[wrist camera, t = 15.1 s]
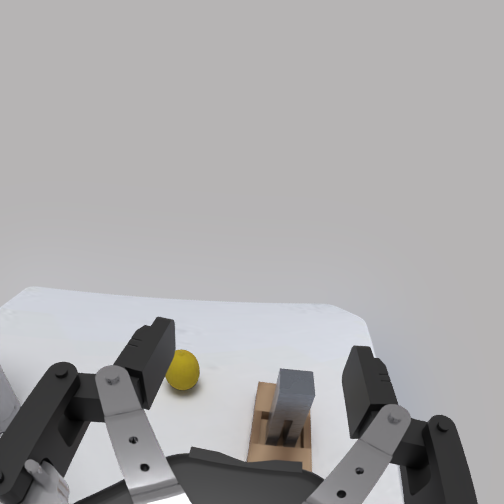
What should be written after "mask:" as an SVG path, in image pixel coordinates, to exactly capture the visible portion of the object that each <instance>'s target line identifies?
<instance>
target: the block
mask: <svg viewBox="0 0 504 504" xmlns="http://www.w3.org/2000/svg"><path fill="white" fill-rule="evenodd" d="M314 397H315V388H314V378H313V372H311V371H300V370H289V369H280V371H279V375H278V380H277V384H276V388H275V392H274V396H273V400H272V405H271V409H270V413H269V417H268V421H267V424H266V435H265V445H271V446H276V445H277V442H278V439H279V436H280V433H281V430H282V427H283V424H284V421H285V420H286V421H285V424H284V427H283V447H293V448H294V447H295V445H296V443H297V440H298V438H299V436H300V433H301V431H302V428H303V426H304V423H305V421H306V418H307V416H308V413H309V410H310V408H311V405H312V403H313V400H314Z"/></svg>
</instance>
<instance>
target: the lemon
mask: <svg viewBox="0 0 504 504" xmlns="http://www.w3.org/2000/svg"><path fill="white" fill-rule="evenodd" d="M199 374H200V371H199V364H198V361H197V359H196V357H195V356H194V355H193V354H192V353H190V352H189V351H186V350H176V351H175V354H174V358H173V360H172V362H171V364H170V367H169V369H168V371H167V373H166V375H165V377H166V379H167V381H168V383H169V384H170V385H171V386H172V387H174V388H176V389H179V390H187V389H190V388H192V387H193V386H194V385H195V384H196V383H197V381H198V378H199Z"/></svg>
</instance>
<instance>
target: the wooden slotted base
mask: <svg viewBox="0 0 504 504" xmlns="http://www.w3.org/2000/svg"><path fill="white" fill-rule="evenodd" d="M275 388H276V384H273V383H265V382H259V383H258V388H257V394H256V400H255V408H254V415H253V422H252V429H251V436H250V443H249V450H248V457H247V462H258V461H268V460H284V461H299V462H302V469H304V470H307V471H310V472H312V460H311V421H310V410H309V413H308V416H307V418H306V421H305V423H304V426H303V428H302V431H301V433H300V436H299V438H298V440H297V443H296V445H295V447H294V448H293V447H283V427H284V424H285V421H286V420H285V421H284V424H283V427H282V430H281V433H280V436H279V439H278V442H277V445H276V446H271V445H265V435H266V424H267V421H268V417H269V413H270V409H271V405H272V400H273V396H274V392H275Z"/></svg>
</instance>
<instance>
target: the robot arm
mask: <svg viewBox="0 0 504 504" xmlns="http://www.w3.org/2000/svg"><path fill="white" fill-rule="evenodd" d="M174 354H175V323H174V320H172V319H167V318H162V317H157V318H156V319H155V321H154V322H153V324H152V325H151V326H147V325H144V326H143V327H141V328H140V329H138V330H137V331H136V332H135V333H134V335H133V336H132V338H131V339H130V341H129V342H128V344H127V345H126V346H125V348H124V349H123V351H122V352H121V354H120V355H119V357H118V358H117V360H116V361H115V363H114V364H113V365H110V366H106V367H103V368H101V369H100V370H99V371H98V372H97V374H87V373H78V372H77V369H76V367H75V366H74V365H73V364H71V363H68V362H59V363H56V364H54V365H52V366H51V367H50V368H49V369H48V370H47V371H46V373H45V374H44V376H43V377H42V378H41V380H40V381H39V382H38V384H37V385H36V387H35V388H34V389H33V391H32V392H31V394H30V395H29V396H28V398H27V399H26V401H25V402H24V404H23V405H22V406H21V408H20V404H19V401H18V399H17V398H16V396H15V394H14V392H13V390H12V388H11V386H10V384H9V382H8V380H7V378H6V376H5V374H4V372H3V370H2V367H1V365H0V433H2V432H4V434H3V435H2V437H1V438H0V502H1V503H3V504H68V497H69V486H68V484H67V482H66V481H65V480H64V479H63V478H64V476H65V474H66V472H67V470H68V467H69V465H70V463H71V461H72V459H73V457H74V455H75V453H76V450H77V448H78V446H79V444H80V442H81V440H82V438H83V436H84V434H85V432H86V430H87V428H88V426H89V424H90V422H105V423H106V426H107V430H108V433H109V436H110V440H111V443H112V446H113V449H114V452H115V455H116V458H117V461H118V463H119V466H120V469H121V472H122V474H123V477H124V479H123V480H121V481H119V482H118V483H116V484H114V485H112V486H110V487H107V488H105V489H103V490H101V491H99V492H97V493H95V494H93V495H91V496H88V497H86V498H84V499H82V500H79V501H77V502H75V503H74V504H362V503H363V501H364V500H365V498H366V497H367V496H368V494H369V493H370V491H371V490H372V489H373V487H374V486H375V484H376V483H377V481H378V480H379V478H380V477H381V475H382V474H383V472H384V471H385V469H386V467H387V466H388V464H389V463H392V464H397V465H400V471H401V478H402V486H403V494H404V502H405V504H478V503H477V498H476V494H475V490H474V486H473V482H472V479H471V475H470V471H469V467H468V464H467V461H466V457H465V454H464V451H463V447H462V444H461V441H460V438H459V435H458V432H457V429H456V426H455V424H454V422H453V421H452V420H451V419H450V418H448V417H446V416H443V415H436V416H433V417H432V418H431V419H430V420H429V421H428V422H425V421H420V420H415V419H412V418H411V417H410V414H409V412H408V411H407V410H406V409H405V408H403V407H401V406H399V405H398V402H397V399H396V396H395V393H394V390H393V386H392V384H391V382H390V377H389V376H388V371H387V369H386V366H385V365H384V363H383V362H382V361H381V360H380V359H379V358H374V357H373V354H372V351H371V348H370V347H368V346H353V347H352V349H351V352H350V354H349V357H348V360H347V362H346V365H345V368H344V370H343V375H342V386H343V392H344V398H345V405H346V411H347V418H348V425H349V432H350V439H358V440H357V442H356V443H355V444H354V445H353V447H352V448H351V449H350V450H349V452H348V453H347V454H346V455H345V457H344V458H343V459H342V460H341V462H340V463H339V464H338V465H337V466H336V467H335V469H334V470H333V471H332V472H331V473H330V474H329V476H328V477H327V478H326V479H325V480H324V479H323V478H321V477H320V476H318V475H316V474H314V473H313V472H310V471H307V470H304V469H302V462H299V461H284V460H268V461H258V462H244V461H241V460H238V459H235V458H233V457H230V456H227V455H225V454H222V453H220V452H216V451H211V450H206V449H201V448H196V447H191V450H190V453H184V454H176V455H171V456H168V457H165V456H164V454H163V452H162V449H161V447H160V445H159V443H158V441H157V439H156V437H155V434H154V432H153V430H152V427H151V425H150V423H149V421H148V418H147V416H146V413H145V411H144V409H147V410H149V409H150V407H151V405H152V403H153V401H154V399H155V396H156V394H157V392H158V390H159V388H160V386H161V384H162V381H163V379H164V377H165V375H166V373H167V371H168V369H169V367H170V364H171V362H172V360H173V358H174ZM143 408H144V409H143Z"/></svg>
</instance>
